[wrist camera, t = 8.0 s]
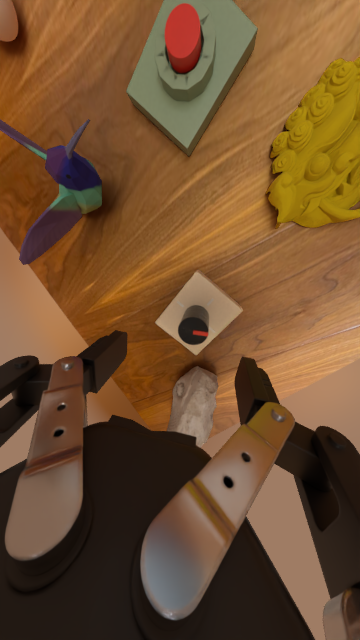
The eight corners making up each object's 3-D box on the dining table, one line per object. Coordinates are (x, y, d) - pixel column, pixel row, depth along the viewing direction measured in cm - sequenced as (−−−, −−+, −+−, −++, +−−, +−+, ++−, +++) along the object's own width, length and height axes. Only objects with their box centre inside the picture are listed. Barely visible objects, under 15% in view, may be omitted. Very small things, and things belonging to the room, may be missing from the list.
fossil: (190, 349, 35) (162, 433, 23) (235, 369, 34) (229, 463, 23) (170, 386, 45) (145, 455, 34) (204, 401, 45) (190, 476, 34)
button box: (187, -21, 20) (182, -83, 16) (253, 49, 21) (262, 6, 17) (133, 104, 24) (119, 78, 21) (189, 156, 25) (185, 141, 22)
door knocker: (387, 219, 24) (421, 213, 20) (263, 231, 27) (271, 228, 23) (440, 40, 19) (501, -16, 15) (275, 79, 21) (289, 40, 17)
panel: (198, 268, 31) (196, 270, 28) (240, 305, 32) (243, 310, 29) (159, 317, 35) (154, 323, 32) (197, 347, 36) (196, 356, 34)
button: (181, 13, 18) (179, -9, 17) (208, 41, 19) (207, 21, 17) (162, 57, 20) (157, 40, 18) (187, 82, 20) (184, 68, 19)
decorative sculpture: (161, 244, 30) (120, 239, 17) (70, 262, 34) (-24, 271, 21) (136, 112, 25) (40, -64, 11) (30, 152, 29) (-138, 62, 15)
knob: (182, 326, 32) (176, 343, 26) (184, 303, 30) (178, 316, 24) (207, 330, 31) (206, 348, 26) (210, 306, 30) (210, 320, 24)
